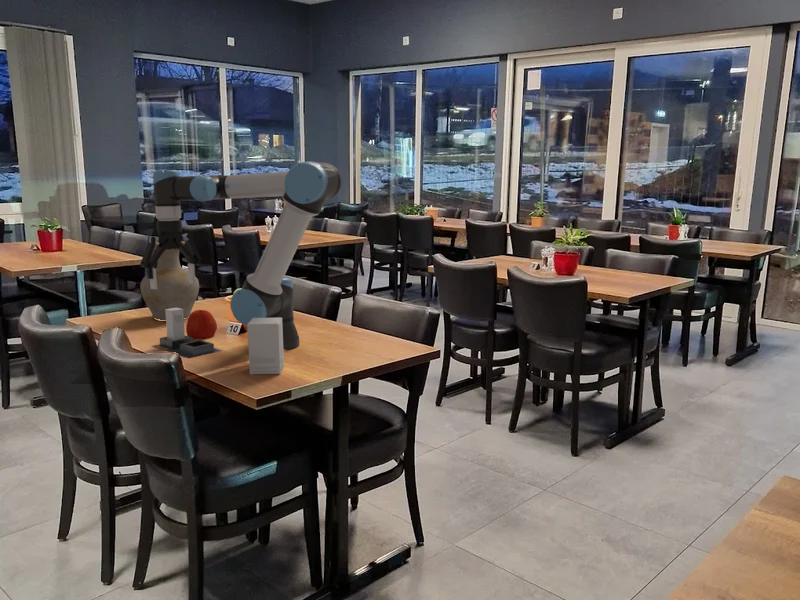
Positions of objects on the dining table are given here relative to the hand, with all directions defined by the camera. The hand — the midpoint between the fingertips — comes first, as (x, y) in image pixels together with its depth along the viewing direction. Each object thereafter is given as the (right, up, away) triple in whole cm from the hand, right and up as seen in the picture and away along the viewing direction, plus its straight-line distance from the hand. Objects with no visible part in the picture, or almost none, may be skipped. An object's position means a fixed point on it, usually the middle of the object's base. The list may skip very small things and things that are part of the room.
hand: (173, 286), depth 214 cm
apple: (+4, -18, +17) cm, 25 cm away
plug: (0, -19, +4) cm, 20 cm away
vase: (-18, -12, +50) cm, 54 cm away
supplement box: (+34, -25, -19) cm, 46 cm away
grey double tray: (+4, -21, 0) cm, 22 cm away
